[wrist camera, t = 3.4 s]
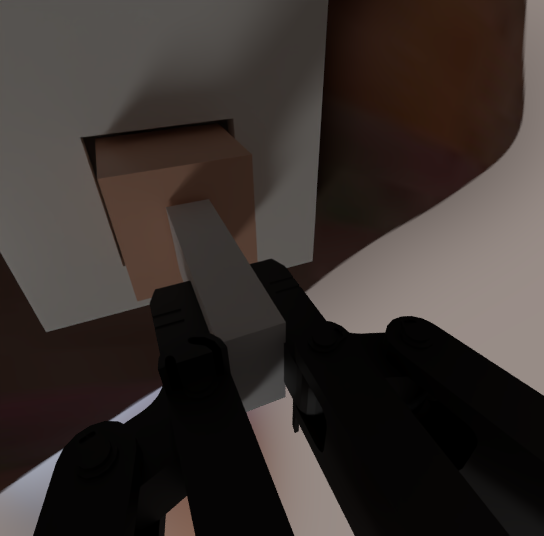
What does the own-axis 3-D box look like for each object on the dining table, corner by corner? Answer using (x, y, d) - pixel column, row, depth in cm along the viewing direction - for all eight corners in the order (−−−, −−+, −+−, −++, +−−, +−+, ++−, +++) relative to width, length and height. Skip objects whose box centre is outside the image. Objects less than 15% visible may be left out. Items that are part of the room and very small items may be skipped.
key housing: (-413, -652, 7) (-824, -1190, 4) (286, -409, 11) (362, -567, 8) (52, 282, 20) (46, 332, 17) (284, 229, 24) (312, 260, 21)
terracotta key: (94, 138, 14) (97, 178, 11) (217, 122, 16) (252, 154, 12) (127, 244, 17) (137, 301, 14) (228, 223, 19) (258, 269, 15)
